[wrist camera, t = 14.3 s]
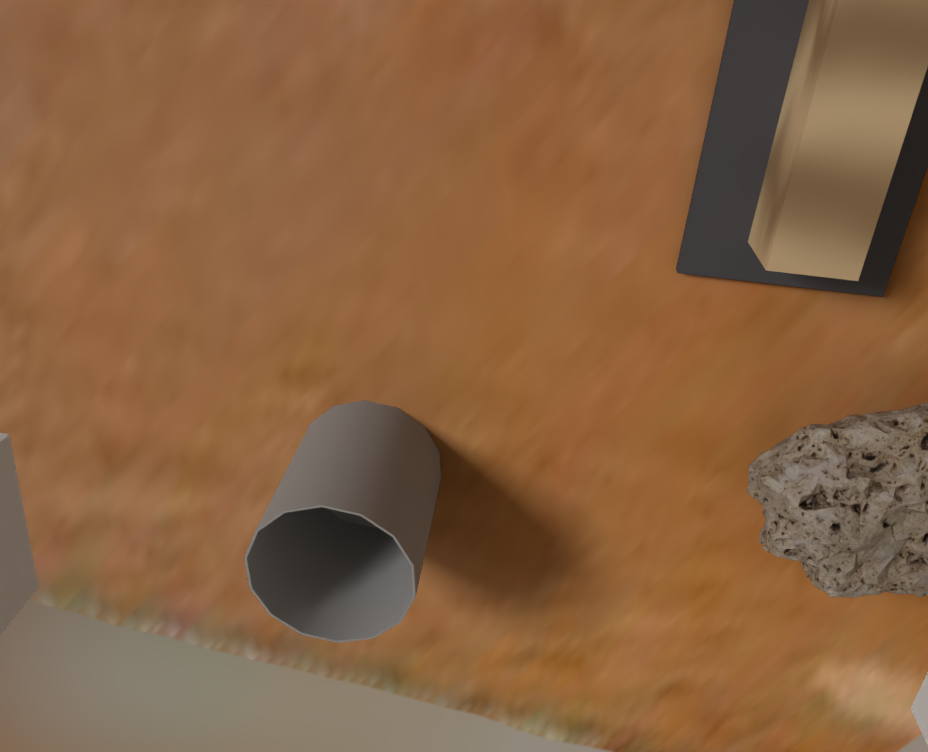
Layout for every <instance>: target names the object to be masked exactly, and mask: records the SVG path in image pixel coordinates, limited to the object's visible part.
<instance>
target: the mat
mask: <svg viewBox="0 0 928 752" xmlns="http://www.w3.org/2000/svg"><path fill="white" fill-rule="evenodd" d="M808 3H809V0H734V4H733V8H732V13H731V18H730V22H729V27H728V31H727V36H726V41H725V45H724V50H723V55H722V59H721V64H720V68H719V73H718V78H717V82H716V87H715V92H714V96H713V101H712V105H711V110H710V115H709V119H708V124H707V129H706V133H705V138H704V142H703V147H702V152H701V156H700V161H699V166H698V170H697V175H696V179H695V184H694V189H693V193H692V198H691V203H690V207H689V212H688V216H687V221H686V226H685V230H684V235H683V240H682V244H681V249H680V253H679V258H678V263H677V267H676V270H677V272H678V273H682V274H691V275H699V276H708V277H716V278H725V279H734V280H742V281H751V282H759V283H768V284H777V285H785V286H794V287H802V288H811V289H819V290H828V291H837V292H845V293H854V294H862V295H871V296H880V297H883V295H884V293H885V290H886V287H887V284H888V281H889V278H890V275H891V272H892V269H893V266H894V263H895V260H896V257H897V255H898V252H899V249H900V246H901V243H902V240H903V237H904V234H905V231H906V228H907V225H908V222H909V219H910V216H911V214H912V211H913V208H914V205H915V202H916V199H917V196H918V193H919V190H920V187H921V184H922V181H923V178H924V176H925V173H926V170H927V167H928V67H927V70H926V73H925V76H924V79H923V82H922V86H921V89H920V92H919V95H918V98H917V101H916V104H915V107H914V110H913V113H912V116H911V120H910V123H909V126H908V129H907V132H906V135H905V138H904V141H903V144H902V147H901V150H900V153H899V157H898V160H897V163H896V166H895V169H894V172H893V175H892V178H891V181H890V184H889V187H888V190H887V194H886V197H885V200H884V203H883V206H882V209H881V212H880V215H879V218H878V221H877V224H876V228H875V231H874V234H873V237H872V240H871V243H870V246H869V249H868V252H867V255H866V258H865V261H864V265H863V268H862V271H861V274H860V277H859V280H858V281H853V280H844V279H835V278H827V277H818V276H810V275H801V274H792V273H784V272H775V271H766V270H765V268H764V267H763V265H762V263H761V262H760V260H759V259H758V257H757V256H756V254H755V252H754V251H753V249H752V248H751V246H750V245H749V243H748V239H749V235H750V231H751V227H752V223H753V219H754V216H755V212H756V208H757V204H758V200H759V196H760V192H761V188H762V184H763V180H764V176H765V172H766V168H767V164H768V160H769V156H770V152H771V148H772V145H773V141H774V137H775V133H776V129H777V125H778V121H779V117H780V113H781V109H782V105H783V101H784V97H785V93H786V89H787V85H788V81H789V78H790V74H791V70H792V66H793V62H794V58H795V54H796V50H797V46H798V42H799V38H800V34H801V30H802V26H803V22H804V18H805V14H806V11H807V7H808Z"/></svg>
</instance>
